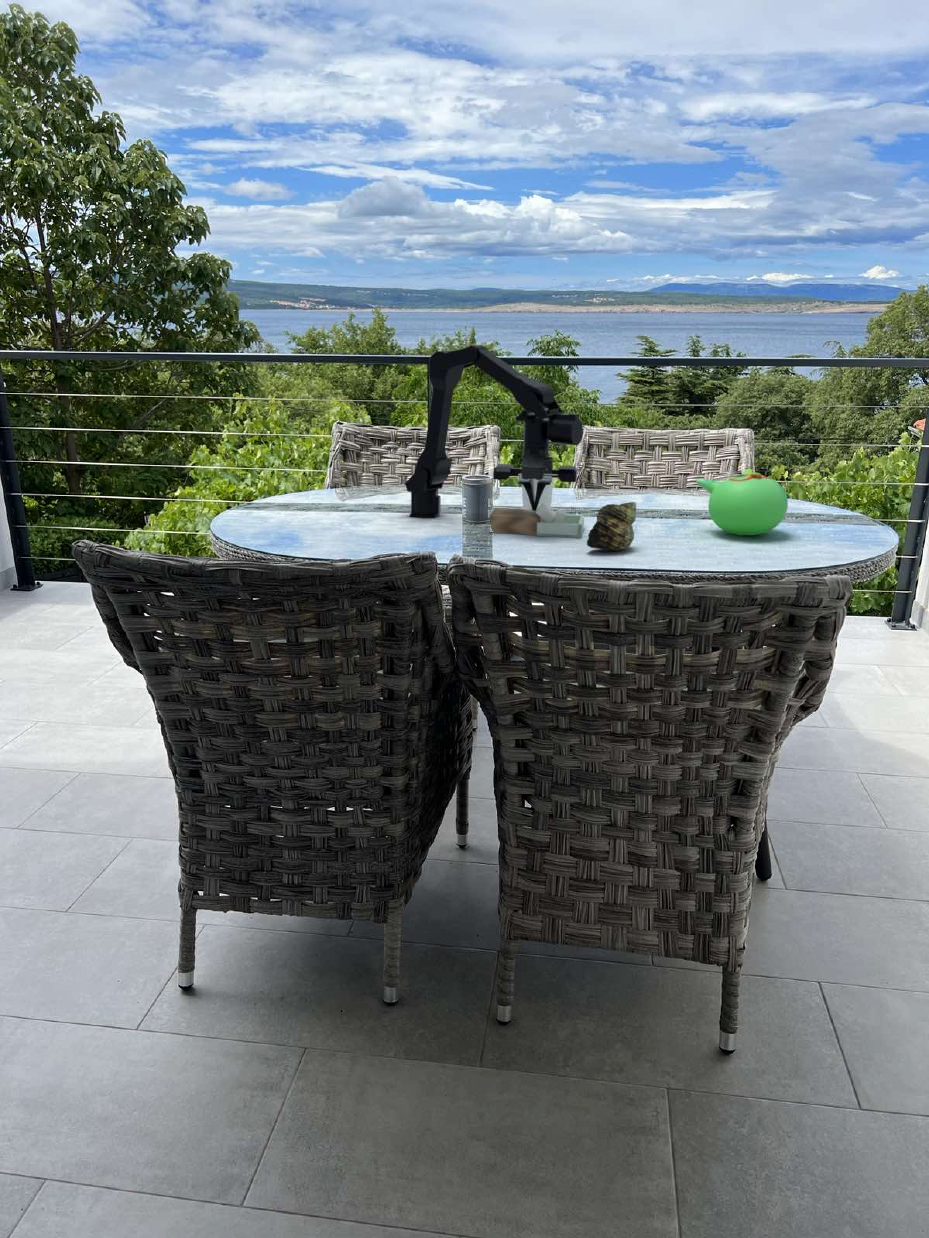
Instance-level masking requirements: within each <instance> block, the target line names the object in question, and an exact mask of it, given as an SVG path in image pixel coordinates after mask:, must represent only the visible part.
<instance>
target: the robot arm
mask: <svg viewBox="0 0 929 1238" xmlns="http://www.w3.org/2000/svg"><path fill="white" fill-rule="evenodd" d="M473 366H475V367H477V368H478V369H479V370H480V371H482V372H483V373H485V374H486V375H488V377H490V378H491V379H493V380H495V382H497V383H498V384H500V385H501V386H503V387H504V388H506V389H507V390H509V393H511V394H512V396H513V398H514V400H515V401H516V403H517V404H519V405H520V407H522V408H523V410H522V411H521V413H520V414H518V416H516V417H515V421H517V422H523V423H524V424H523V456H522V458H521V468H519V467H514V464H510V463H508V464H507V463H506V464H505V463H498V464H497V465H496V466H495V467H494V468H493V473H492V474H493V476H492V479H493V480H500V481H502V480H504V481H506V480H508V479H509V478H511V477H518V481H517V482H518V484H519V485H522V484H523V486H524V487H525V489H526V492H527V494H528V497H529V500H530V504H531V507H532V510H533V511H536V510H537V507H538V504H539V501H540V498H541V495H542V492H543V490H544V488H545V486H546V485H550V484H551V482H552V478H554V479H559V481H560V482H561V483H576V482H577V479H578V467H576V466H572V465H571V466H568V465H567V466H566V465H559V468H558V469H554V462H553V461H554V459H553V457H551V456H550V455H549V453H550V451H549V450H550V443H552V444H555V445H556V444H557V445H568V446H579V445H580V443H581V442H582V441H583V437H584V428H583V423H582V421H581V420H580V414H579V413H564V411H563V410H562V408H561V406H560V404H559V403H558V401H557V400H556V398H555V391H554V389H553V388H552V387H551V386H550V385H548V384H546V383H544V382H541V381H539V380H536V379H534V378H530V377H527V376H525V375H523V374H522V373H520V371H518V370H517V369H515V368H514V367H512V366H511V365H509V364H508V363H507V362H505V361H504V360H502V359H501V358H500V357H498V356H497V355H495V353H493V352H491V351H490V350H489V349H488V348H487V347H486V346H484V345H483V344H475V345H474V344H473V345H469V346H467V347H464V348H460V349H457V350H438V351H435V352H434V353H433V354H431V355H430V357H429V360H428V378H429V380H430V384H431V386H432V392H431V398H430V399H431V401H430V407H429V408H430V409H429V415H428V422H427V431H426V438H425V445H424V448H423V450H422V452H421V454H420V455H419V457H418V458H417V460H416V464H415V468H414V471H413V474H412V475H411V476H410V478H409V479H408V480H407V481H406V482H405V483H404V484H405V488H406V491H407V492H409V493H410V506H411V507H410V513H409V517H413V518H414V517H415V518H416V517H418V518H420V517H421V518H436V517H437V516H438V515H440V513H441V507H442V506H441V502H442V501H441V499H442V498H441V495H439V489H440V490H441V489H443V486H444V483H445V481H448V479H449V475H451V474H452V472H451V471H452V470H451V466H452V464H453V458H452V457H448V455H447V452H446V444H447V437H448V431H449V424H450V417H451V409H452V404H453V403H452V402H453V395H454V391H455V389H456V387H457V386H458V384H459V382H460V380H461V379H462V375H463V372H464V369H467V368H470V367H473ZM533 479H536V480H539V481H538V482H537V490H536V497H535V495H534V480H533Z"/></svg>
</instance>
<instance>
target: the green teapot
mask: <svg viewBox="0 0 929 1238" xmlns="http://www.w3.org/2000/svg"><path fill="white" fill-rule="evenodd" d="M695 483H696V484H697V485H698V486H699V487H701V488H702V489H704V490H706V492H708V493H709V494H710V495H709V499H708V504H707V505H708V513H709V516H710V518H711V520H712V522H713V523H714V524H715V525H716V526H717V527H718V528H720V529H721V530H723V531H724V532H726V533H729V534H733V535H735V534H737V536H743V535H750V536H757V534H758V535H762V534H765V533H767V532H770V531H771V530H774V529H775V528H777V526H779V525H780V524H781V523H782V522H783V520H784V519H785V517H786V515H787V512H788V507H789V505H788V504H789V503H788V496H787V493H786V491H785V490H784V488H783V487H782V485H781V484H780V483H778V482H777V481H776V480H774V479H772V478H770V477H767V476H765V475H762V474H761V473H760V472H753V469H752V468H747V469H745V470H744V471H743V472H742V473H741V474H736V475H733V476H731V477H728V478H726V479H724V480H722V481H718V480H717V481H716V480H712V479H706V478H699V479H696V480H695Z"/></svg>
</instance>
